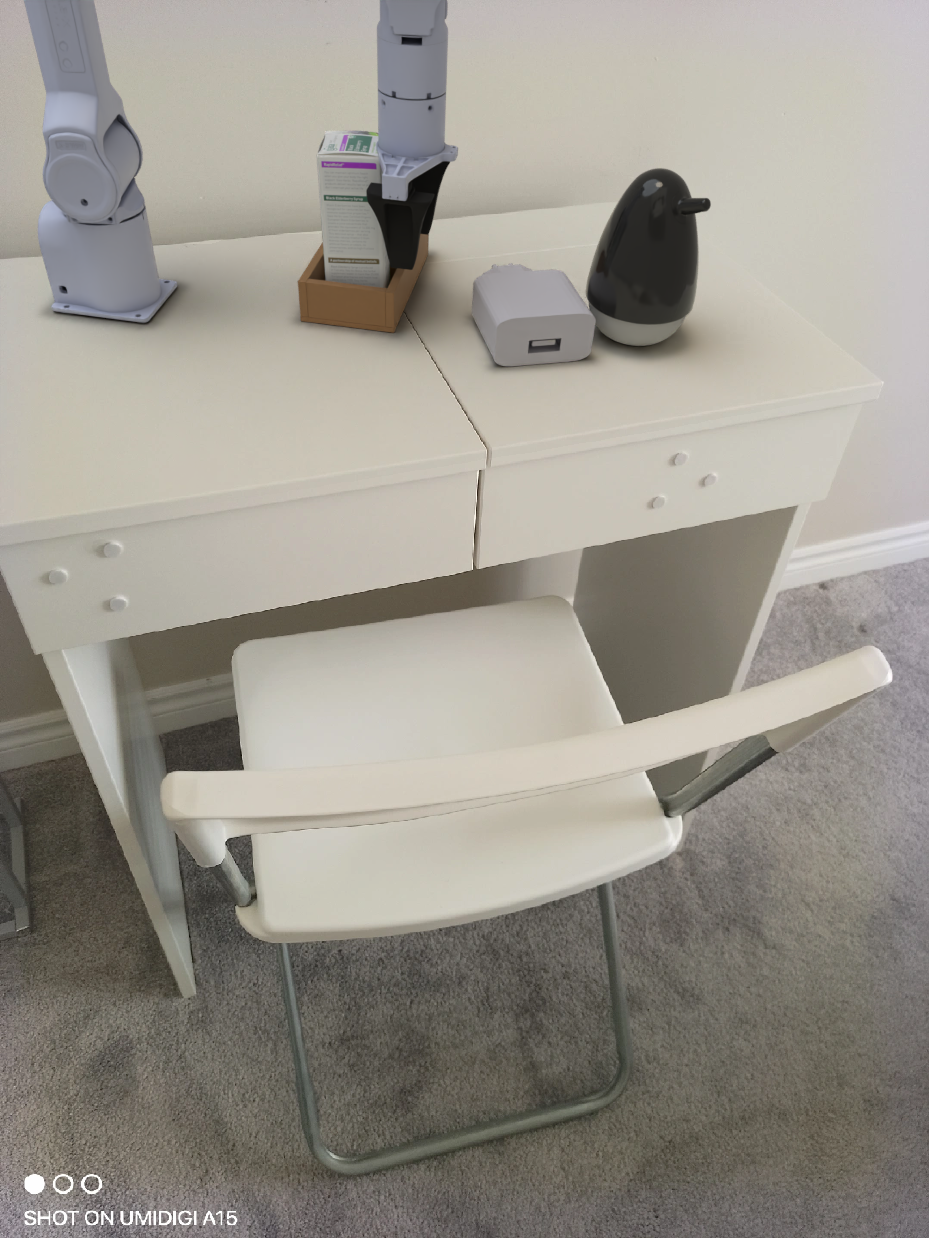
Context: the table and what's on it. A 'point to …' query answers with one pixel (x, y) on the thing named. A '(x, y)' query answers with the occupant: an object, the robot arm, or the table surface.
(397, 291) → the divided box
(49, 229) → the robot arm
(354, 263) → the syrup box
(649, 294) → the pump dispenser
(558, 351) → the charger
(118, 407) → the table surface
